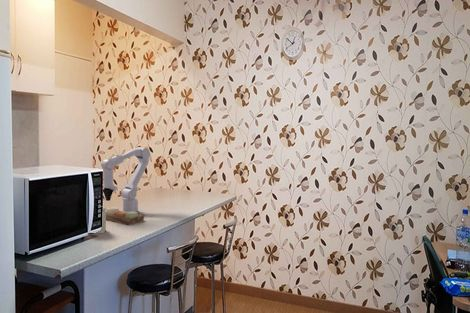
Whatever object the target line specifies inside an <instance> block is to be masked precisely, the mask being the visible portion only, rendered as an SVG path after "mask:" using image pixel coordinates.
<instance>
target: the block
mask: <svg viewBox="0 0 470 313" xmlns="http://www.w3.org/2000/svg"><path fill="white" fill-rule="evenodd" d="M138 213H139V211H138V212H133V211H130V212H126V213H125V217H127V218H131V219H132V218H135V217H138V215H139V214H138Z"/></svg>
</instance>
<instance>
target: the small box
mask: <svg viewBox="0 0 470 313" xmlns="http://www.w3.org/2000/svg"><path fill="white" fill-rule="evenodd" d="M102 207H103V212H102V228H101V230H100V231H98V232H96V233H95V234H104V233H105V231H106V230H107V225H106V224H107V220H106V209H107V208H106V206H102Z"/></svg>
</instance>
